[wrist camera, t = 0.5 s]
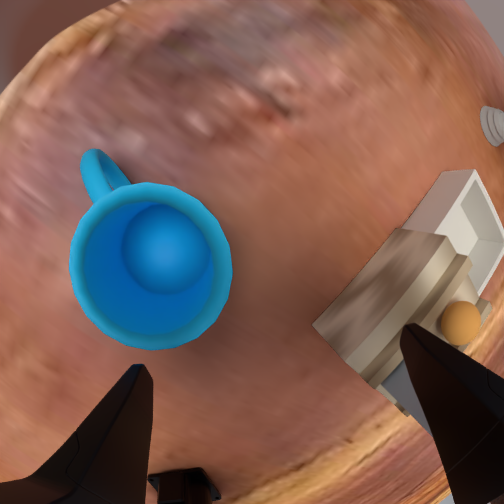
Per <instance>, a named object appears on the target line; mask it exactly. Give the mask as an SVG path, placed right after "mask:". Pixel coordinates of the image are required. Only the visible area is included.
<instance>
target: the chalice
mask: <svg viewBox="0 0 504 504" xmlns="http://www.w3.org/2000/svg"><path fill="white" fill-rule="evenodd" d="M480 120H481V126H482V129H483V132H484V134H485V136H486V138H487V140H488V141H489V142H490V143H491V144H492V145H493V146H495V147H496V146H499V145H500V144H501V143H503V142H504V112H503V111H501V110H500V109H495V108H492V107H489V106H484V107H482V109H481V112H480Z"/></svg>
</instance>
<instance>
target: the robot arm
mask: <svg viewBox="0 0 504 504" xmlns="http://www.w3.org/2000/svg"><path fill="white" fill-rule="evenodd" d="M399 345H400V349H401V352H402V355H403V358H404V361H405V364H406V368H407V371H408V374H409V377H410V381H411V383H412V386H413V388H414V391H415V393H416V395H417V398H418V400H419V403H420V405H421V407H422V410H423V412H424V415H425V417H426V420H427V423H428V425H429V428H430V430H431V433H432V436H433V438H434V441H435V444H436V447H437V449H438V452H439V455H440V458H441V461H442V464H443V467H444V470H445V473H446V476H447V479H448V483H449V486H450V489H451V492H452V496H453V499H454V503H455V504H487V503H489V502H490V503H491V504H504V379H503V378H502V377H500V376H498V375H497V374H495V373H494V372H492V371H491V370H489V369H486V367H484V366H483V365H481V364H480V363H478V362H477V361H475V360H474V359H472V358H470V357H469V356H467V355H466V354H464V353H463V352H461V351H460V350H458V349H456V348H455V347H453V346H452V345H450V344H449V343H447V342H445V341H444V340H442V339H441V338H439V337H437V336H436V335H434V334H433V333H431V332H429V331H428V330H426V329H425V328H423V327H421V326H420V325H418V324H417V323H414V322H413V323H409V324H405V325H404V326H403V329H402V333H401V337H400V341H399ZM152 423H153V379H152V377H151V375H150V373H149V372H148V370H147V368H146V367H145V365H144V364H133V365H132V366H131V367H130V368H129V369H128V370H127V371H126V372H125V373H124V375H123V376H122V377H121V378H120V379H119V380H118V381H117V383H116V384H115V385H114V386H113V387H112V388H111V390H110V391H109V392H108V393H107V394H106V395H105V396H104V398H103V399H102V400H101V401H100V402H99V403H98V405H97V406H96V407H95V408H94V409H93V410H92V412H91V413H90V414H89V415H88V416H87V417H86V419H85V420H84V421H83V422H82V423H81V424H80V426H79V427H78V428H77V429H76V431H74V433H73V434H72V435H71V436H70V437H69V438H68V440H67V441H66V442H65V443H64V444H63V445H62V446H61V447H60V448H59V449H58V450H57V451H56V452H55V453H54V454H53V455H52V456H51V457H50V458H49V459H48V460H47V461H46V462H45V463H44V464H43V465H42V466H41V467H40V468H39V469H38V470H36V471H35V472H34V473H33V474H32V475H30V476H28V477H26V478H23V479H19V480H14V481H8V482H2V483H0V504H145V497H146V483H147V480H148V481H149V483H150V484H151V485H152V486H153V487H154V488H155V489H156V491H157V492H158V497H157V504H212V501H216V500H220V499H221V494H220V493H219V492H218V490H217V489H216V488H215V486H214V485H213V483H212V482H211V481H210V479H209V478H208V476H207V475H206V474H205V472H204V471H203V470H202V469H200V468H196V469H191V470H185V471H178V472H171V473H164V474H156V475H149V476H148V477H147V471H148V460H149V450H150V441H151V432H152Z"/></svg>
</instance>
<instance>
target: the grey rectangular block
mask: <svg viewBox="0 0 504 504" xmlns="http://www.w3.org/2000/svg"><path fill="white" fill-rule="evenodd" d="M381 385H382V386H383V387H384V388H385V389H386V390H387V391H388V392H389V393H390V394H391V395H392V396H393V397H394V398H395V399H396V400H397V401H398V402H399V403H400V404H401V405H402V406H403V407H404V408H405V409H406V410H407V411H408V412H409V413H410V414H411V415H412V416H413V417H414V418H415V419H416V420H417V421H418V422H419V424H420V425H421V426H422V427H423V428H424V429H425V430H426V431H427V432H428V433H429V434H430V435H431V436H432V433H431V430H430V428H429V425H428V423H427V420H426V417H425V415H424V412H423V410H422V407H421V405H420V403H419V400H418V398H417V395H416V393H415V391H414V388H413V386H412V383H411V381H410V377H409V374H408V371H407V368H406V364H405V361H404V359H403V360H402V361H401V362H400V363H399V364H398V366H397V367H396V368H395V369H394V370H393V371H392V372H391V373H390V374H389V375H388V376H387V377H386V379H385V380H384V381H383V382H382V383H381ZM432 437H433V436H432Z"/></svg>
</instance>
